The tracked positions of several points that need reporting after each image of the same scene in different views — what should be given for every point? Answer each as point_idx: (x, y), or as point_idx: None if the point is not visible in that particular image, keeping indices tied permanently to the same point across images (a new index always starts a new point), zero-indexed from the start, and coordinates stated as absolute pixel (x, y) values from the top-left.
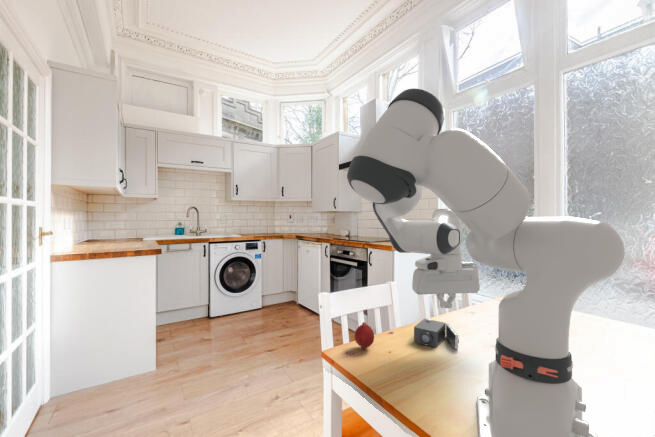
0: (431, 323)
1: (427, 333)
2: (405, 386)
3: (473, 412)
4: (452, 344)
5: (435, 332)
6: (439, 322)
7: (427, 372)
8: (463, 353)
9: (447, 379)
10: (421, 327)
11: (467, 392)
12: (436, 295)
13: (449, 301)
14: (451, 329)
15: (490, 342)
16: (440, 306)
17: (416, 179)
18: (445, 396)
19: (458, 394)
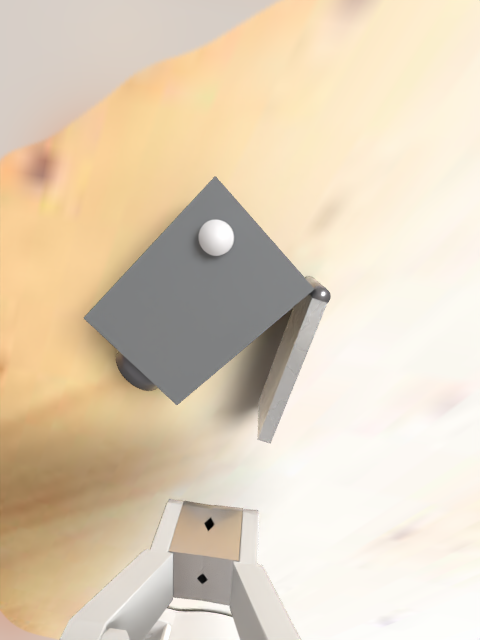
0: (215, 282)
1: (136, 384)
2: (9, 534)
3: None
4: (270, 371)
5: (173, 399)
6: (278, 274)
7: (85, 499)
8: None
9: (124, 534)
10: (124, 331)
11: None
12: (66, 628)
13: (233, 605)
14: (286, 376)
15: (469, 371)
16: (168, 505)
17: None
18: (87, 578)
19: None
